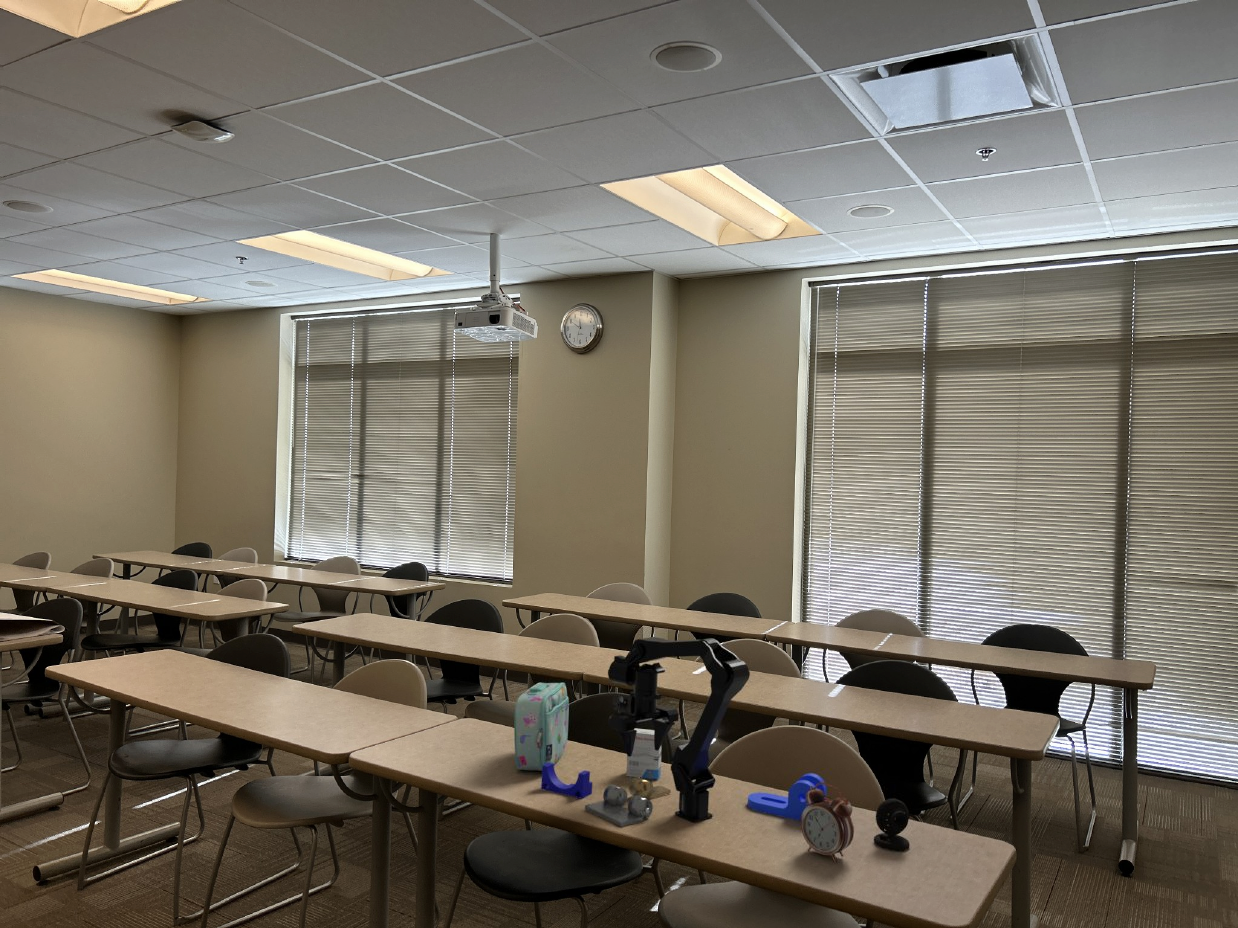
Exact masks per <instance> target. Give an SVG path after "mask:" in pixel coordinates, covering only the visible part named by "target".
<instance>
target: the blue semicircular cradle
mask: <svg viewBox="0 0 1238 928" xmlns="http://www.w3.org/2000/svg"><path fill="white" fill-rule="evenodd" d="M590 775H591V771H589V770H585V769H584V770H583V771H581V772H578V775H577V779H576V781H575V783H570V784H566V783H564V782H562V781H561V780H560V778H559V777H558V776H557V774H556V771H555V764H553V763H547V764H545V765H542V771H541V784H540V785H541V787H540V789H541V790H543V791H548V792H550V793H551V792H552V793H556V794H561V795H564V796H565V795H566V796H569V797H574V798H577V799H581V800H583V799H586V798H587V797H588V796H590V795H592V794H593V781H591V780H590V779H591V778H590V777H591V776H590Z"/></svg>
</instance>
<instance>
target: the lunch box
mask: <svg viewBox="0 0 1238 928" xmlns="http://www.w3.org/2000/svg"><path fill="white" fill-rule="evenodd" d="M566 685H567V684H566V683H565V682H548V683H547V682H538V683H536V684H534V685H533V686H531V687H530V688H528V689H527V690H526V691H524V692H523V693H521V695H519V697H518V698H517V700H516V703H515V708H514V721H513V722H514V724H513V725H514V729H513V730H514V731H513V733H514V738H513V739H514V758H515V765H516V767H517V770H520V771H523V770H524V771H537V772H538V771H539V772H540V771H541V772H542V765H545V764H547V763H553V764H554V765H555V764H556V763H557V762H558V761H559V760H560V759H561V757H562V755H563V753H564V752H565V749H566V745H567V743H568V736H569V734H568V733H569V696H568V691H567V686H566Z"/></svg>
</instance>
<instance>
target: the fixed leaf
mask: <svg viewBox="0 0 1238 928" xmlns="http://www.w3.org/2000/svg"><path fill="white" fill-rule="evenodd" d="M602 799H603V800H600V801H596V802H594V803H589V804H586V805H584V811H587V812H589V813H591V814H594V815H595V816H597V817H599V818H602V819H604V820H606V821H608V822H610V823H612V824H614V825H616V826H618V827H621V828H623V827H627V826H630V825H634V824H637V823H640V822H643V821H645V820H648V819H649V817H650V816H651V815H652V812H653V809H654V808H653V806H654V805H653V802H652V801H651V799H646V798H643V797H641V796H639V795H635V796H632V797H631V798H630V799H629V801H628V793H627V791H626V789H624V788H622V787H619V786H617V785H615V784H609V785H607V786H606V787H605V789H604V791H603V795H602ZM627 801H628V804H627V808H625V807H624V806H625V805H626V803H627Z"/></svg>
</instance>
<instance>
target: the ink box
mask: <svg viewBox="0 0 1238 928" xmlns="http://www.w3.org/2000/svg"><path fill="white" fill-rule="evenodd" d="M634 730H637V733H636V738H635V743H634V748H633V752H632V756H631V757H629V756H627V755H626V772H625V773H626V774H625V775H627V776H626V777H628V776H629V777H631V778H636V777H641V779H645V778H649V779H648V780H654V779H656V780H655V781H657V780H659V779H660V776H661V773H662V772H661V771H662V769H661V768H662V746H661V747H660V749H659V750H658V751H657V750H655V747H654V729H643V728H636V727H635V729H634ZM629 777H628V778H629Z"/></svg>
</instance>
